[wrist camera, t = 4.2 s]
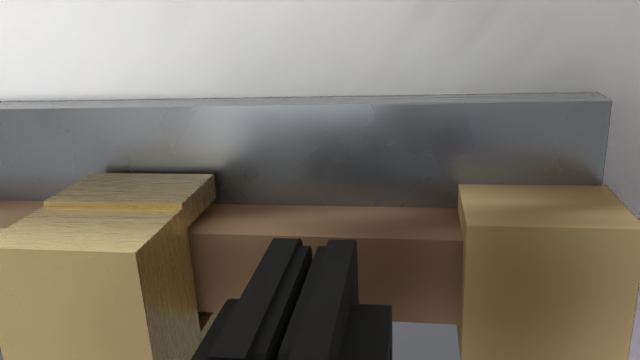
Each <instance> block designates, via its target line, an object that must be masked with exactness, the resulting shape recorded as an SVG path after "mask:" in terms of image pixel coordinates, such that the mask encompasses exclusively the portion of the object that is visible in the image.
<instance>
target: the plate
mask: <svg viewBox="0 0 640 360" xmlns="http://www.w3.org/2000/svg"><path fill="white" fill-rule="evenodd" d="M611 106H612V101H611V100H610V99H608V98H606V97H605V96H603V95H601V94H600V93H534V94H471V95H408V96H345V97H281V98H218V99H155V100H92V101H29V102H0V200H9V201H45V200H47V199H49V198H50V197H52V196H54V195H56V194H57V193H59V192H61V191H63V190H64V189H66V188H68V187H69V186H71V185H73V184H75V183H76V182H78V181H80V180H82V179H83V178H85V177H87V176H88V175H90V174H92V173H145V174H214V180H215V189H216V198H215V199H214V200H213V201H212V202H211V203H210V204H239V205H297V206H355V207H412V208H458V185H459V184H490V185H587V186H602V180H603V172H604V163H605V155H606V147H607V139H608V130H609V122H610V114H611ZM0 360H4V359H3V355H2V351H1V348H0ZM392 360H460V351H459V342H458V334H457V325H451V324H431V323H412V322H392Z"/></svg>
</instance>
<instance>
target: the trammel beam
mask: <svg viewBox="0 0 640 360" xmlns="http://www.w3.org/2000/svg"><path fill="white" fill-rule="evenodd" d="M43 206H44V202H43V201H9V200H0V232H1V231H2V230H4V229H6V228H8V227H9V226H11V225H13V224H14V223H16V222H18V221H19V220H21V219H23V218H24V217H26V216H28V215H30V214H31V213H33V212H35V211H36V210H38V209H40V208H41V207H43ZM187 234H188V241H189V249H190V257H191V264H192V272H193V279H194V287H195V294H196V302H197V309H198V312H217V313H219V312H220V310H221V308H222V307H223V305H224V303H225V302H226V301H227V300H228V299H231V298H234V299H240V297H241V295H242V293H243V291H244V290H245V288H246V286H247V284H248V282H249V281H250V279H251V277H252V275H253V274H254V272H255V270H256V268H257V266H258V265H259V263H260V261H261V259H262V257H263V256H264V254H265V252H266V250H267V249H268V247H269V245H270V243H271V241H272V240H273V239H274V238H296V239H301V240H302V244H303V246H311V248H312V258H314V255H315V253H316V250H317V247H318V246H326V245H327V242H328V240H329V239H339V240H356V243H357V263H358V298H359V304H378V305H392V322H412V323H431V324H451V325H457V334H458V342H459V351H460V360H628V355H629V349H630V342H631V336H632V329H633V323H634V316H635V310H636V303H637V297H638V290H639V284H640V221H639V220H638V219H637V218H636V216H635V215H634V214H633V213H632V212H631V211H630V210H629V209H628V208H627V207H626V206H625V205H624V204H623V203H622V202H621V200H620V199H619V198H618V197H617V196H616V195H615V194H614V193H613V192H612V191H611V190H610V189H609V188H608V187H607V186H587V185H490V184H459V185H458V208H412V207H355V206H297V205H239V204H210V205H209V206H208V207H207V208H206V209H205V210H204V211H203V212H202V213H201V214H200V215H199V216H198V217H197V218H196V219H195V220H194V221H193V222H192V223H191V225H190V226H189V227H188V228H187Z"/></svg>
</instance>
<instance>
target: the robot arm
mask: <svg viewBox="0 0 640 360" xmlns="http://www.w3.org/2000/svg"><path fill="white" fill-rule="evenodd" d="M191 360H392V305H378V304H359V298H358V263H357V243H356V240H339V239H329V240H328V242H327V245H326V246H318V247H317V250H316V253H315V255H314V258H312V248H311V246H303V244H302V240H301V239H296V238H274V239H273V240H272V241H271V243H270V245H269V247H268V249H267V250H266V252H265V254H264V256H263V257H262V259H261V261H260V263H259V265H258V266H257V268H256V270H255V272H254V274H253V275H252V277H251V279H250V281H249V282H248V284H247V286H246V288H245V290H244V291H243V293H242V295H241V297H240V299H234V298H231V299H228V300H227V301H226V302H225V303H224V305H223V307H222V308H221V310H220V312H219V313H218V315H217V317H216V318H215V320H214V322H213V323H212V325H211V327H210V328H209V330H208V332H207V333H206V335H205V337H204V338H203V340H202V342H201V343H200V345H199V347H198V348H197V350H196V352H195V353H194V355H193V357H192V358H191Z"/></svg>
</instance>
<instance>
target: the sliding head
mask: <svg viewBox="0 0 640 360" xmlns="http://www.w3.org/2000/svg"><path fill="white" fill-rule="evenodd" d="M215 198H216V189H215V180H214V174H145V173H92V174H90V175H88V176H87V177H85V178H83V179H82V180H80V181H78V182H76V183H75V184H73V185H71V186H69V187H68V188H66V189H64V190H63V191H61V192H59V193H57V194H56V195H54V196H52V197H50V198H49V199H47V200H45V201H43V202H44V206H43V207H41V208H40V209H38V210H36V211H35V212H33V213H31V214H30V215H28V216H26V217H24V218H23V219H21V220H19V221H18V222H16V223H14V224H13V225H11V226H9V227H8V228H6V229H4V230H2V231H1V232H0V348H1V351H2V355H3V359H4V360H191V358H192V357H193V355H194V353H195V352H196V350H197V348H198V347H199V345H200V343H201V342H202V340H203V338H204V337H205V335H206V333H207V332H208V330H209V328H210V327H211V325H212V323H213V322H214V320H215V318H216V317H217V315H218V313H217V312H198V309H197V302H196V294H195V287H194V279H193V272H192V264H191V257H190V249H189V241H188V234H187V228H188V227H189V226H190V225H191V223H192V222H193V221H194V220H195V219H196V218H197V217H198V216H199V215H200V214H201V213H202V212H203V211H204V210H205V209H206V208H207V207H208V206H209V205H210V203H211V202H212V201H213V200H214V199H215Z"/></svg>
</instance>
